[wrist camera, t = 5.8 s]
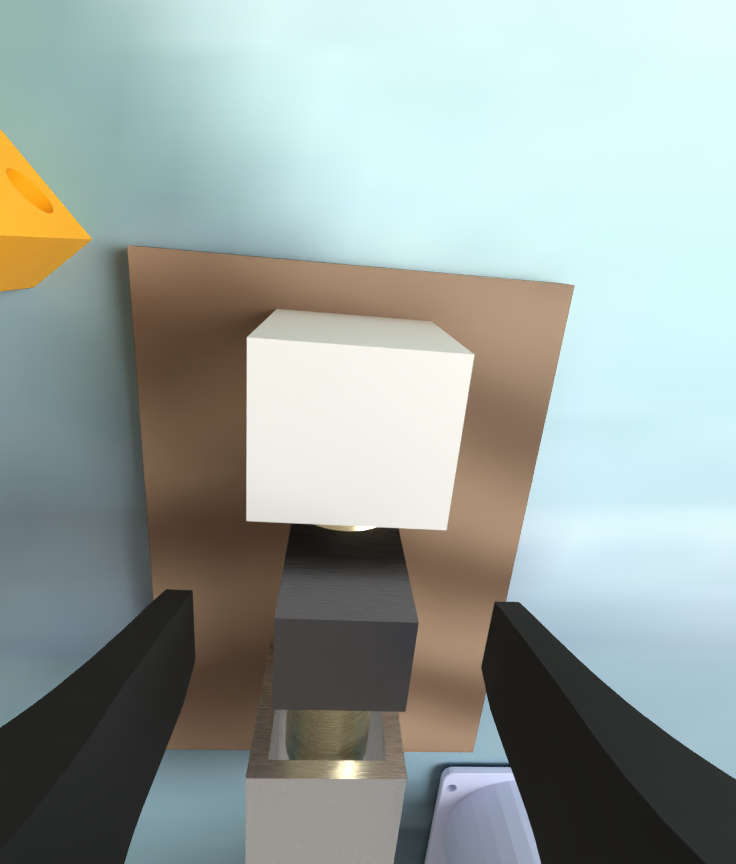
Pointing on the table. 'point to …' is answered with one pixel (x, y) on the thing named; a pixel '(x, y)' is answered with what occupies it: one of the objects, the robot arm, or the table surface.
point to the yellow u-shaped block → (31, 224)
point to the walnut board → (267, 541)
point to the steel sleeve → (322, 795)
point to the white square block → (353, 420)
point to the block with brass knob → (341, 637)
